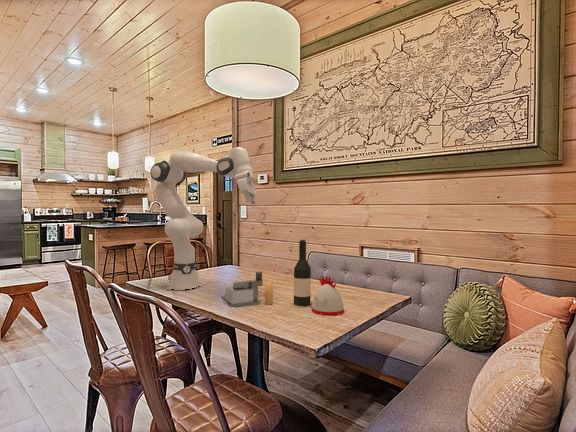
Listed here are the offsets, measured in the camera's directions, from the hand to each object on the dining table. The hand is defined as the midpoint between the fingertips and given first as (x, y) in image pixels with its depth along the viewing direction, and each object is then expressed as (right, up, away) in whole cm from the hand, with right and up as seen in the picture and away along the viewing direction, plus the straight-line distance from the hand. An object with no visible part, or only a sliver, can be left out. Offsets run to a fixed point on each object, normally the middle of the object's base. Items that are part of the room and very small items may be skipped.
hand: (251, 203), depth 174 cm
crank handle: (0, -40, -11) cm, 41 cm away
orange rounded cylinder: (+10, -47, -14) cm, 50 cm away
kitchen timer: (+36, -48, -25) cm, 65 cm away
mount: (-4, -47, -10) cm, 49 cm away
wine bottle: (+25, -48, -14) cm, 56 cm away
